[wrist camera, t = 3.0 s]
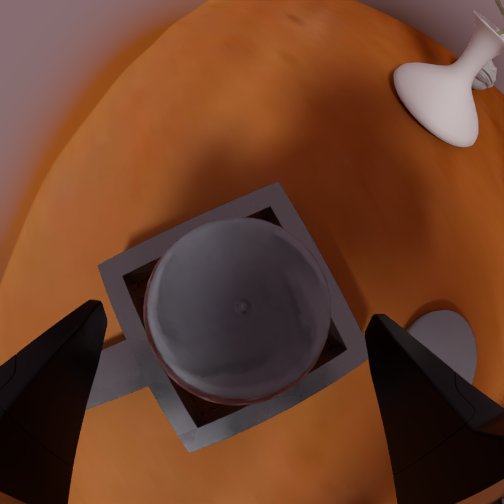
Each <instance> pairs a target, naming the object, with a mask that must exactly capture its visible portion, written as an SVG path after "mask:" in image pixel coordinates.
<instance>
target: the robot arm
mask: <svg viewBox="0 0 504 504" xmlns="http://www.w3.org/2000/svg"><path fill="white" fill-rule="evenodd" d="M106 328H107V317H106V314H105V311H104V308H103V304H102V302H101V301H99V300H88V301H87V302H85V303H84V304H82V305H81V306H80V307H78V308H77V309H75V310H74V311H73V312H71V313H70V314H69V315H67V316H66V317H64V318H63V319H62V320H60V321H59V322H58V323H56V324H55V325H53V326H52V327H51V328H49V329H48V330H47V331H45V332H44V333H43V334H41V335H40V336H39V337H37V338H36V339H35V340H33V341H32V342H31V343H30V344H28V345H27V346H26V347H24V348H23V349H22V350H20V351H19V352H18V353H17V355H14V356H13V357H12V358H10V359H9V360H8V361H6V362H5V363H4V364H3V365H1V366H0V504H68V498H69V490H70V484H71V477H72V471H73V465H74V459H75V454H76V449H77V444H78V439H79V435H80V431H81V426H82V422H83V418H84V414H85V410H86V406H87V403H88V399H89V395H90V392H91V388H92V385H93V381H94V378H95V375H96V371H97V368H98V364H99V360H100V355H101V351H102V346H103V341H104V337H105V332H106ZM365 342H366V347H367V353H368V359H369V366H370V371H371V376H372V381H373V384H374V388H375V392H376V396H377V400H378V404H379V408H380V413H381V417H382V421H383V426H384V430H385V435H386V440H387V444H388V449H389V455H390V460H391V465H392V471H393V475H394V476H393V478H394V484H395V490H396V497H397V504H504V408H503V407H501V406H500V405H499V404H497V403H496V402H494V401H493V400H492V399H490V398H489V397H487V396H486V395H485V394H483V393H482V392H481V391H479V390H478V389H477V388H475V387H474V386H473V385H471V384H470V383H469V382H468V381H466V380H465V379H464V378H463V377H461V376H460V375H459V374H458V373H457V372H456V371H454V370H453V369H452V368H451V367H450V366H448V365H447V364H446V363H445V362H444V361H442V360H441V359H440V358H439V357H437V356H436V355H435V354H434V353H433V352H431V351H430V350H429V349H428V348H427V347H425V346H424V345H423V344H422V343H420V342H419V341H418V340H417V339H415V338H414V337H413V336H412V335H410V334H409V333H408V332H407V331H406V330H404V329H403V328H402V327H400V326H399V325H398V324H397V323H395V322H394V321H393V320H392V319H390V318H389V317H388V316H387V315H385V314H374V315H373V316H372V318H371V320H370V322H369V324H368V326H367V329H366V331H365Z"/></svg>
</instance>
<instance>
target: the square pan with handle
mask: <svg viewBox="0 0 504 504" xmlns="http://www.w3.org/2000/svg"><path fill="white" fill-rule="evenodd" d="M231 217H247V218H255V219H261V220H265V221H267V222H270V223H272V224H274V225H277V226H280V227H281V228H283V229H285V230H287V231H288V232H289V233H291V234H293V235H294V236H296V237H297V238H298V239H299V240H300V241H301V242H302V243H303V244H305V246H306V247H307V248H308V249H309V250H310V251H311V252H312V254H313V255H314V257H315V258H316V260H317V261H318V263H319V265H320V266H321V268H322V270H323V272H324V275H325V277H326V280H327V283H328V287H329V291H330V297H331V322H330V327H329V331H328V335H327V339H328V341H329V343H330V345H331V348H329V349H328V350H326V351H324V352H323V353H321V354H320V356H319V358H318V360H317V362H316V363H315V365H314V366H313V368H312V369H311V370H310V371H309V373H308V374H307V375H306V376H305V377H304V378H303V379H302V380H301V381H300V382H299V383H297V384H296V385H295V386H294V387H293V388H291V389H290V390H288V391H287V392H285V393H283V394H282V395H280V396H278V397H276V398H273V399H271V400H268V401H264V402H261V403H256V404H250V405H240V406H237V405H234V406H233V405H225V404H224V405H222V406H220V407H218V408H215V409H213V410H211V411H209V412H206V413H204V414H202V415H201V413H200V411H199V410H198V408H197V406H196V405H195V403H194V401H193V399H192V398H191V396H190V394H189V392H188V391H187V390H185V389H184V388H182V387H181V386H180V385H178V384H177V383H176V382H175V381H174V380H173V379H171V378H170V377H169V376H168V375H167V373H166V372H165V370H164V369H163V368H162V367H161V365H160V364H159V362H158V361H157V359H156V358H155V356H154V354H153V352H152V350H151V348H150V345H149V342H148V339H147V335H146V331H145V325H144V320H143V313H144V311H143V305H144V301H143V299H142V296H141V294H140V292H139V289H138V287H137V284H136V283H137V282H139V281H141V280H143V279H145V278H147V277H149V276H151V273H152V271H153V269H154V267H155V265H156V264H157V262H158V260H159V259H160V258H161V256H162V255H163V253H165V252H166V251H167V249H168V248H169V247H170V246H171V245H172V244H173V243H175V242H176V241H177V240H179V239H180V238H181V237H182V236H183V235H185V234H186V233H187V232H189V231H191V230H192V229H194V228H196V227H198V226H200V225H202V224H205V223H208V222H210V221H213V220H218V219H222V218H231ZM98 268H99V271H100V274H101V277H102V280H103V283H104V286H105V288H106V291H107V294H108V297H109V299H110V302H111V304H112V307H113V309H114V312H115V314H116V317H117V319H118V322H119V324H120V326H121V329H122V331H123V333H124V336H125V338H126V340H124V341H122V342H119V343H117V344H115V345H113V346H111V347H108V348H106V349H104V350H102V351H101V355H100V360H99V364H98V368H97V371H96V375H95V378H94V381H93V385H92V388H91V392H90V395H89V399H88V403H87V406H86V409H89V408H92V407H94V406H97V405H100V404H103V403H106V402H108V401H111V400H114V399H116V398H119V397H122V396H124V395H127V394H129V393H132V392H134V391H137V390H140V389H142V388H144V387H147V386H149V387H150V389H151V391H152V393H153V394H154V396H155V398H156V400H157V402H158V403H159V405H160V407H161V409H162V410H163V412H164V414H165V415H166V417H167V419H168V421H169V422H170V424H171V425H172V427H173V429H174V430H175V432H176V433H177V435H178V437H179V438H180V440H181V441H182V443H183V444H184V446H185V447H186V449H187V450H188V452H189V453H190V452H193V451H196V450H199V449H201V448H204V447H207V446H209V445H212V444H214V443H217V442H219V441H222V440H224V439H226V438H229V437H231V436H233V435H236V434H238V433H240V432H242V431H245V430H247V429H249V428H251V427H253V426H255V425H257V424H260V423H262V422H264V421H266V420H268V419H270V418H272V417H274V416H276V415H278V414H279V413H281V412H283V411H285V410H287V409H289V408H291V407H293V406H294V405H296V404H298V403H300V402H302V401H303V400H305V399H307V398H309V397H310V396H312V395H314V394H315V393H317V392H319V391H320V390H322V389H324V388H325V387H327V386H329V385H330V384H332V383H333V382H335V381H337V380H338V379H340V378H341V377H343V376H344V375H346V374H347V373H349V372H350V371H352V370H353V369H355V368H356V367H358V366H359V365H361V364H362V363H363V362H365V361H366V360H368V353H367V347H366V342H365V338H364V336H363V334H362V332H361V330H360V328H359V326H358V324H357V322H356V320H355V318H354V316H353V314H352V312H351V310H350V308H349V306H348V304H347V302H346V300H345V298H344V296H343V294H342V292H341V290H340V288H339V287H338V285H337V283H336V281H335V279H334V277H333V275H332V273H331V272H330V270H329V268H328V266H327V264H326V262H325V261H324V259H323V257H322V255H321V253H320V251H319V250H318V248H317V246H316V244H315V243H314V241H313V239H312V237H311V235H310V234H309V232H308V230H307V228H306V227H305V225H304V223H303V221H302V220H301V218H300V216H299V215H298V213H297V211H296V210H295V208H294V206H293V204H292V203H291V201H290V199H289V198H288V196H287V194H286V193H285V191H284V189H283V188H282V186H281V184H280V183H279V181H278V182H275V183H273V184H270V185H268V186H265V187H263V188H261V189H258V190H256V191H254V192H251V193H249V194H246V195H244V196H242V197H239V198H237V199H235V200H232V201H230V202H228V203H226V204H223V205H221V206H219V207H217V208H214V209H212V210H210V211H208V212H205V213H203V214H201V215H199V216H197V217H194V218H192V219H190V220H188V221H186V222H184V223H182V224H179V225H177V226H175V227H173V228H171V229H169V230H167V231H165V232H163V233H160V234H158V235H156V236H154V237H152V238H150V239H148V240H146V241H144V242H142V243H140V244H138V245H136V246H134V247H132V248H130V249H128V250H126V251H124V252H122V253H120V254H118V255H116V256H114V257H113V258H111V259H109V260H107V261H105V262H103V263H101V264H99V265H98Z"/></svg>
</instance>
